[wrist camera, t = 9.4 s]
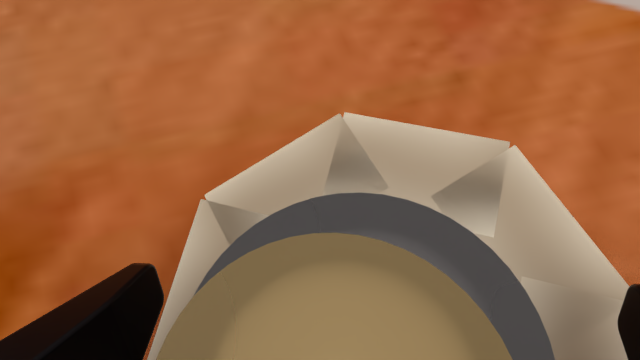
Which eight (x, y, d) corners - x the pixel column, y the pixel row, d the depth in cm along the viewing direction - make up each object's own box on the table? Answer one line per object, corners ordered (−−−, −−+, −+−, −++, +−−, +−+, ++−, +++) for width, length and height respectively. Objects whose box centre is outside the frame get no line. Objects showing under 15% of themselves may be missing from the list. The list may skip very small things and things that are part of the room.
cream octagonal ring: (539, 598, 14) (603, 724, 10) (172, 457, 17) (97, 506, 13) (587, 203, 17) (653, 167, 13) (270, 139, 20) (236, 92, 16)
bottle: (454, 366, 16) (893, 765, 2) (350, 402, 16) (75, 1000, 2) (411, 261, 17) (492, 44, 3) (315, 296, 18) (-3, 235, 3)
